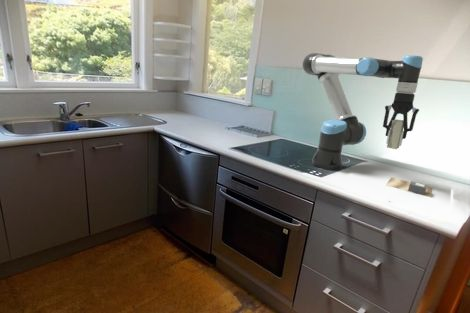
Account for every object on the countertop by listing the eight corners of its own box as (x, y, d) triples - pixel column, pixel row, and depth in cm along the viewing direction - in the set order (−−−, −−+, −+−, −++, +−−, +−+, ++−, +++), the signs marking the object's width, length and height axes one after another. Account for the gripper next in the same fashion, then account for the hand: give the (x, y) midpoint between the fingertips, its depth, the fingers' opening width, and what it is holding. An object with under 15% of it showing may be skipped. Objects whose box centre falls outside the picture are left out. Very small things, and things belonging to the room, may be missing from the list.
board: (385, 187, 128) (385, 184, 128) (390, 179, 139) (391, 177, 138) (429, 200, 119) (430, 197, 118) (432, 190, 129) (432, 188, 129)
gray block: (407, 190, 123) (409, 183, 122) (409, 187, 127) (411, 180, 126) (424, 195, 120) (426, 188, 119) (425, 191, 124) (427, 184, 123)
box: (389, 146, 137) (394, 119, 134) (399, 147, 134) (405, 120, 131) (386, 147, 133) (392, 119, 130) (396, 149, 130) (403, 121, 127)
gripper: (381, 91, 129) (371, 141, 135) (427, 94, 119) (414, 149, 125) (385, 91, 135) (375, 139, 141) (429, 94, 125) (416, 146, 131)
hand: (393, 144), depth 133 cm, fingers closed on box, 4 cm apart
